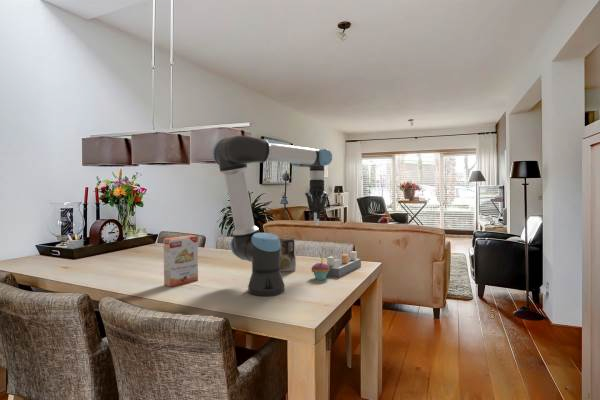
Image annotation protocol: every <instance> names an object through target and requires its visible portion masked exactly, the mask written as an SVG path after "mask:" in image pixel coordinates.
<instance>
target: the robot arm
mask: <svg viewBox="0 0 600 400" xmlns="http://www.w3.org/2000/svg"><path fill="white" fill-rule="evenodd" d="M212 158H213V161H214V162H215V163H216V164H217V165H218V167H219V172H220V173H221V174H223V176H224V179H225V184H226V188H227V194H228V199H229V204H230V209H231V210H230V211H231V215H232V220H233V224H234V230H233V231H232V240H231V241H230V250H231V252H232V253H233V255H234V256H236V257H237V258H239V259H240V260H243V261H247V262H251V269H252V270H251V276H250V279H249V283H248V285H247V292H248V293H249V294H250V295H253V296H259V297H270V296H271V297H272V296H277V295H281V294H282V293H284V292H285V289H286V288H285V287H286V286H285V283H284V280H283V276H282V273H281V271H280V239H279V238H280V237H279V236H278V235H276V234H275V233H271V232H269V233H268V232H260V229H259V227H258V226H256V225H255V220H254V216H253V215H254V214H253V210H252V205H251V200H250V199H251V198H250V194H249V188H248V184H247V179H246V172H245V171H246V170H247V169H248V164H252V163H260V164H261V163H262V164H263V163H266V162H277V163H278V162H279V163H286V164H287V163H289V164H290V165H292V166H293V167H296V168H309V179H310V180H309V190H308V191H307V192H305V194H304V195H305V196H306V200H307V204H308V210H309V211H310V212H311V213H312V219H313V226H316V227H317V226H320V219H321V213H323V212H324V211H325V207H326V202H327V198H328V196H329V195H330V194H329V193H328V192H326V191H325V180H324V179H325V166H328V165H330V164H331V163H332V161H333V153H332V152H331V150H330V149H327V148H311V147H304V146H298V145H297V146H296V145H290V144H283V143H275V142H269V141H268V140H267V139H265V138H259V137H254V136H248V135H235V136H231V137H225V138H222V139H220V140H218V141H216V143H215V144H214V146H213V148H212Z"/></svg>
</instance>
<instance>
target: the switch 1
mask: <svg viewBox="0 0 600 400" xmlns="http://www.w3.org/2000/svg"><path fill="white" fill-rule="evenodd" d="M334 262H335V256H328V257H326V265H328V266H333V265H334Z"/></svg>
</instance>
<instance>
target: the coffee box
mask: <svg viewBox="0 0 600 400" xmlns="http://www.w3.org/2000/svg"><path fill="white" fill-rule="evenodd" d="M279 239H280V272H295V271H296V270H297V259H296V258H297V257H296V255H297V254H296V250H297V249H296V237H292V238H291V237H279Z"/></svg>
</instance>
